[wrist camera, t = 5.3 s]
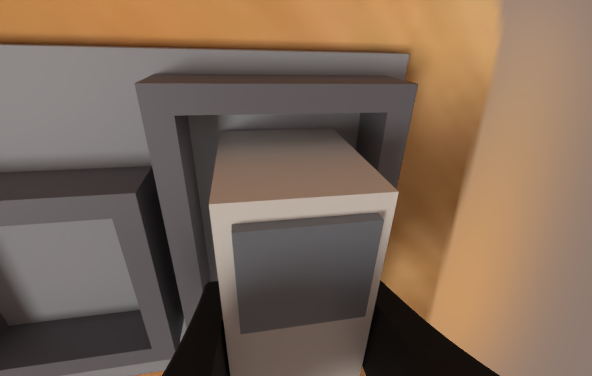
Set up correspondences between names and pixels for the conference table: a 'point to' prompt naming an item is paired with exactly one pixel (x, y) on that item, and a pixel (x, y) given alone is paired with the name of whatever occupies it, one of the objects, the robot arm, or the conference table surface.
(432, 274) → the conference table surface
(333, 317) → the beige rectangular block
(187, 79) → the jig
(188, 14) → the conference table surface
